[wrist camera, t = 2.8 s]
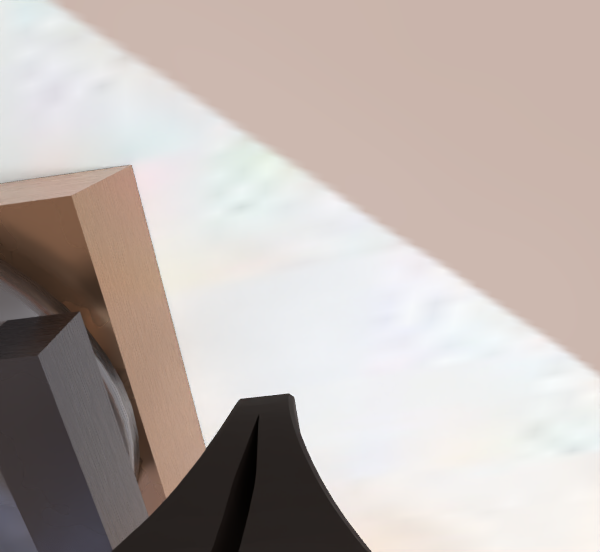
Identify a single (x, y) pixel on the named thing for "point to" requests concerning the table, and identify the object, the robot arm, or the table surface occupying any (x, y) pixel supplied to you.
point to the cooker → (111, 302)
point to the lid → (61, 430)
